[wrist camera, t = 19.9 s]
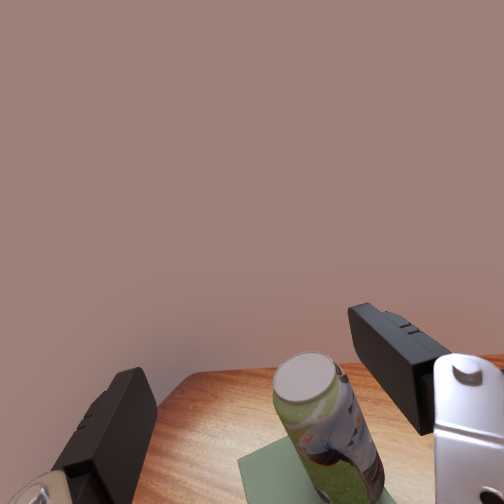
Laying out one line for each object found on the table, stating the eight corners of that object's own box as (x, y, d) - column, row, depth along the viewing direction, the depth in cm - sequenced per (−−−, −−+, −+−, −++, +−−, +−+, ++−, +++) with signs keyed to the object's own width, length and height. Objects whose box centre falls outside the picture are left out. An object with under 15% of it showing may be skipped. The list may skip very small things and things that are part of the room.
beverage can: (404, 500, 21) (384, 372, 18) (320, 549, 20) (284, 417, 17) (355, 435, 27) (334, 330, 24) (288, 468, 26) (257, 361, 23)
